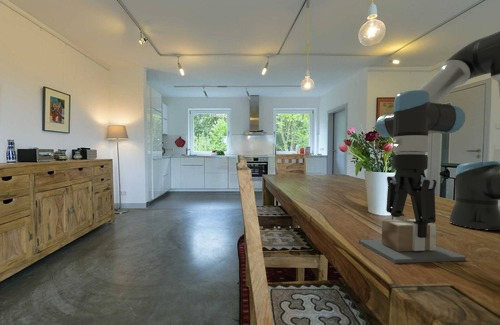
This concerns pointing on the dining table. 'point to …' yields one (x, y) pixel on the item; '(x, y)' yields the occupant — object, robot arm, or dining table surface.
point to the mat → (411, 253)
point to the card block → (405, 235)
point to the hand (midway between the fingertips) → (407, 245)
